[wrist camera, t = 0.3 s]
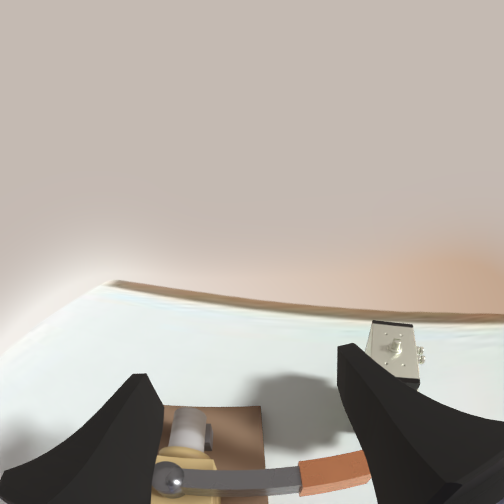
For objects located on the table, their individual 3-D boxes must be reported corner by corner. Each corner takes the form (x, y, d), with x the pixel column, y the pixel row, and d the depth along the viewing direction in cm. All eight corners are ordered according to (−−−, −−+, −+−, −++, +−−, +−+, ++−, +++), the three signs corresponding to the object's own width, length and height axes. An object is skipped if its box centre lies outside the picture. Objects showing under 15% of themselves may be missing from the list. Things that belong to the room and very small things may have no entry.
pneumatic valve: (342, 453, 23) (371, 382, 19) (355, 379, 33) (374, 304, 29) (390, 457, 21) (435, 387, 17) (394, 383, 31) (420, 309, 27)
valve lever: (154, 496, 14) (144, 487, 13) (158, 469, 16) (150, 458, 15) (367, 485, 14) (376, 474, 13) (359, 459, 16) (366, 446, 16)
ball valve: (277, 618, 6) (282, 631, 3) (108, 596, 5) (63, 591, 3) (260, 411, 30) (259, 369, 27) (145, 409, 30) (127, 368, 27)
